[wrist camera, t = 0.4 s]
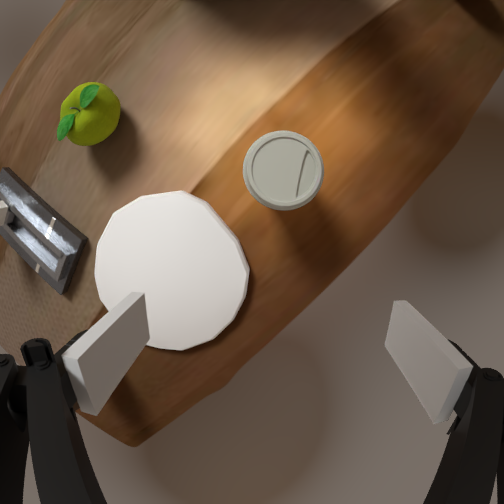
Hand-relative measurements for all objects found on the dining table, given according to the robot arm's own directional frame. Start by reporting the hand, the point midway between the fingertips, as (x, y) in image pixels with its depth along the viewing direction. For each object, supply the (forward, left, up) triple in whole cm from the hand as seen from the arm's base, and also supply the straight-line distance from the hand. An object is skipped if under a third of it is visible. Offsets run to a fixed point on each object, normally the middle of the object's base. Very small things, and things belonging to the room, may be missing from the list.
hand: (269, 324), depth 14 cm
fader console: (-1, -44, -28) cm, 52 cm away
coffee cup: (-8, +1, -28) cm, 29 cm away
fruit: (-18, -26, -28) cm, 42 cm away
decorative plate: (+7, -16, -29) cm, 33 cm away
